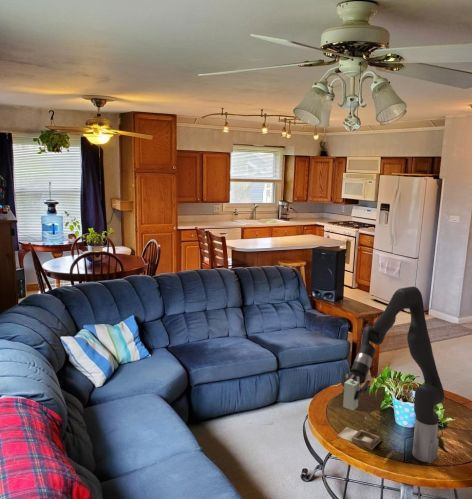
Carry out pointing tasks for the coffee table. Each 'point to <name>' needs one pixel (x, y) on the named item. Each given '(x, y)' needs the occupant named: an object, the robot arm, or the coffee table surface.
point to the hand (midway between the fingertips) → (349, 397)
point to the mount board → (360, 437)
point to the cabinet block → (350, 394)
